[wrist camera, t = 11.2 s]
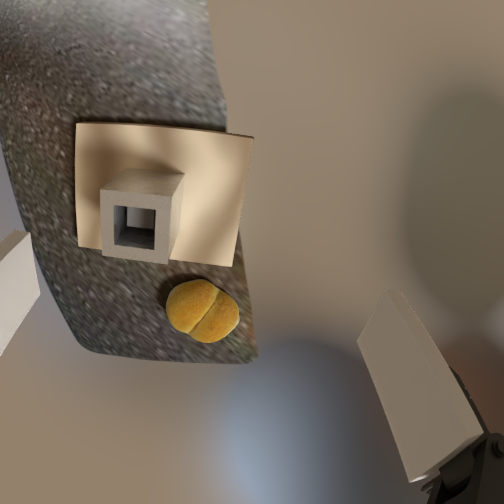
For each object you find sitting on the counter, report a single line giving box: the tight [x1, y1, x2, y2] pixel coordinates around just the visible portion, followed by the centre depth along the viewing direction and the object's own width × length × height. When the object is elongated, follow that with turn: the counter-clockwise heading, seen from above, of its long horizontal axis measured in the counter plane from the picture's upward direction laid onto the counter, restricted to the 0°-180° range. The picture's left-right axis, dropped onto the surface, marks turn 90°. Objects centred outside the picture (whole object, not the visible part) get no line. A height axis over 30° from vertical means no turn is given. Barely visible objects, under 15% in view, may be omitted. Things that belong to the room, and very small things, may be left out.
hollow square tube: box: [100, 168, 185, 264], centre depth 27 cm, size 6×6×7 cm
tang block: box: [75, 122, 254, 267], centre depth 28 cm, size 18×14×6 cm
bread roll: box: [166, 279, 239, 343], centre depth 37 cm, size 8×9×4 cm
